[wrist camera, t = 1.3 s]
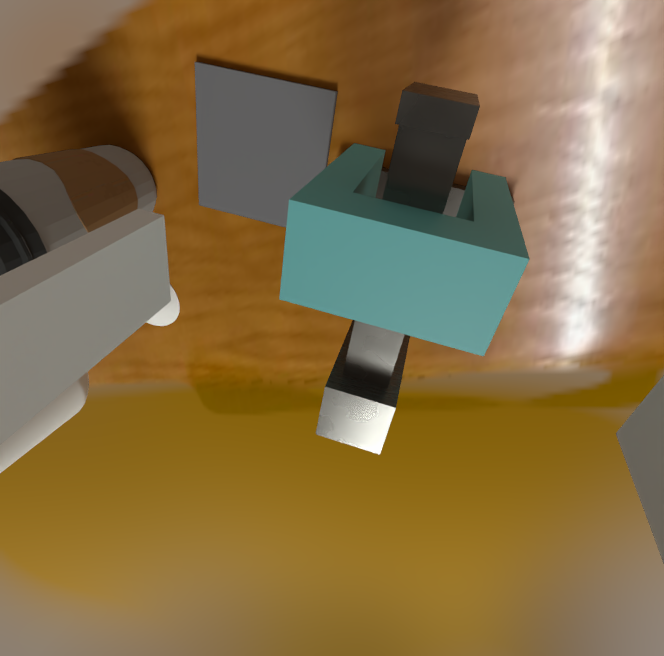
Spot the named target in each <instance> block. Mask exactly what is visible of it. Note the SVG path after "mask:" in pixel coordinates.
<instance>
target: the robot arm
mask: <svg viewBox="0 0 664 656" xmlns="http://www.w3.org/2000/svg"><path fill="white" fill-rule="evenodd" d="M170 301H171V295H170V283H169V270H168V258H167V246H166V233H165V221H164V215H161V214H157V213H153V212H150V211H146V210H142V209H137V210H135V211H133V212H131V213H128V214H126V215H124V216H122V217H120V218H118V219H116V220H114V221H112V222H110V223H108V224H106V225H104V226H102V227H100V228H98V229H95V230H93V231H91V232H89V233H87V234H85V235H83V236H81V237H79V238H77V239H75V240H73V241H71V242H69V243H67V244H65V245H62V246H60V247H58V248H56V249H54V250H52V251H50V252H48V253H46V254H44V255H42V256H40V257H38V258H36V259H34V260H32V261H29V262H27V263H25V264H23V265H21V266H19V267H17V268H15V269H13V270H11V271H9V272H7V273H5V274H3V275H1V276H0V445H1V444H2V443H3V442H4V441H6V440H7V439H8V438H9V437H10V436H12V435H13V434H14V433H15V432H16V431H17V430H19V429H20V428H21V427H22V426H23V425H25V424H26V423H27V422H28V421H29V420H31V419H32V418H33V417H34V416H35V415H36V414H38V413H39V412H40V411H41V410H42V409H44V408H45V407H46V406H47V405H48V404H50V403H51V402H52V401H53V400H54V399H55V398H57V397H58V396H59V395H60V394H61V393H63V392H64V391H65V390H66V389H67V388H68V387H70V386H71V385H72V384H73V383H74V382H76V381H77V380H78V379H79V378H80V377H82V376H83V375H84V374H85V373H86V372H87V371H89V370H90V369H91V368H92V367H93V366H95V365H96V364H97V363H98V362H99V361H101V360H102V359H103V358H104V357H105V356H106V355H108V354H109V353H110V352H111V351H112V350H114V349H115V348H116V347H117V346H118V345H119V344H121V343H122V342H123V341H124V340H125V339H127V338H128V337H129V336H130V335H131V334H133V333H134V332H135V331H136V330H137V329H138V328H140V327H141V326H142V325H143V324H144V323H146V322H147V321H148V320H149V319H150V318H152V317H153V316H154V315H155V314H156V313H157V312H159V311H160V310H161V309H162V308H163V307H165V306H166V305H167V304H168V303H169V302H170ZM616 435H617V438H618V441H619V444H620V446H621V449H622V452H623V454H624V457H625V460H626V463H627V465H628V468H629V471H630V473H631V476H632V479H633V481H634V484H635V487H636V489H637V492H638V495H639V498H640V501H641V503H642V506H643V509H644V511H645V514H646V517H647V519H648V522H649V525H650V527H651V530H652V533H653V536H654V538H655V541H656V544H657V546H658V549H659V552H660V555H661V557H662V560H663V563H664V376H663V377H662V378H661V379H660V381H659V382H658V383H657V384H656V385H655V387H654V388H653V389H652V390H651V391H650V393H649V394H648V395H647V396H646V398H645V399H644V400H643V401H642V402H641V404H640V405H639V406H638V407H637V408H636V410H635V411H634V412H633V413H632V415H631V416H630V417H629V418H628V419H627V421H626V422H625V423H624V424H623V425H622V427H621V428H620V429H619V430H618V432H617V433H616Z"/></svg>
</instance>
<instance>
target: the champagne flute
mask: <svg viewBox="0 0 664 656" xmlns="http://www.w3.org/2000/svg"><path fill="white" fill-rule="evenodd" d="M170 295H171V301H170V302H169V303H168V304H167V305H166V306H165V307H163V308H162V309H161V310H160V311H159V312H157V313H156V314H155V315H154V316H153V317H152V318H150V319H149V320H148V321H147V323H149V324H152V325H157V326H165V325H169V324H171V323H173V322H174V321H175V320H176V319H177V317H178V314H179V309H180V308H179V301H178V297H177V295H176V293H175V291H174V289H173V288H172V286H171V285H170ZM88 388H89V377H88V371H87V372H86V373H85V374H84V375H83V376H82V377H80V378H79V379H78V380H77V381H76V382H74V383H73V384H72V385H71V386H70V387H68V388H67V389H66V390H65V391H64V392H63V393H61V394H60V395H59V396H58V397H57V398H55V399H54V400H53V401H52V402H51V403H50V404H48V405H47V406H46V407H45V408H44V409H42V410H41V411H40V412H39V413H38V414H36V415H35V416H34V417H33V418H32V419H31V420H29V421H28V422H27V423H26V424H25V425H23V426H22V427H21V428H20V429H19V430H17V431H16V432H15V433H14V434H13V435H12V436H10V437H9V438H8V439H7V440H6V441H4V442H3V443H2V444H1V445H0V473H1V472H2V471H3V470H5V469H6V468H7V467H9V466H10V465H11V464H12V463H14V462H15V461H16V460H17V459H19V458H20V457H21V456H22V455H24V454H25V453H26V452H28V451H29V450H30V449H31V448H33V447H34V446H35V445H37V444H38V443H39V442H40V441H42V440H43V439H44V438H45V437H47V436H48V435H49V434H51V433H52V432H53V431H54V430H56V429H57V428H58V427H60V426H61V425H62V424H63V423H65V422H66V421H67V420H69V419H70V418H71V417H72V416H74V415H75V414H76V413H78V412H79V411H80V409H81V408H82V407H83V405H84V404H85V401H86V397H87V394H88Z"/></svg>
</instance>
